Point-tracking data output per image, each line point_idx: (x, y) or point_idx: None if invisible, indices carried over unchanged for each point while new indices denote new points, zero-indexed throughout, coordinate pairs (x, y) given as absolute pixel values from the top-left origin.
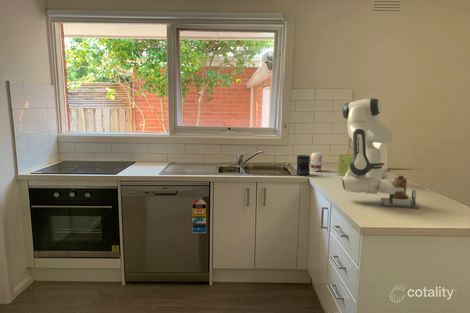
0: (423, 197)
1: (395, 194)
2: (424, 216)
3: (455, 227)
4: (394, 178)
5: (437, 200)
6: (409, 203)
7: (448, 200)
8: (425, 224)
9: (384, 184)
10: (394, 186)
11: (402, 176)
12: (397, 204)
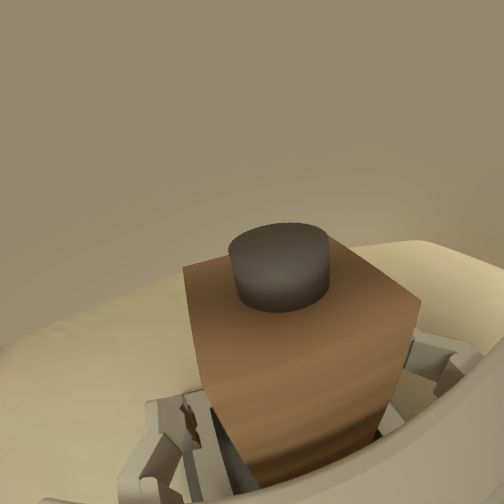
0: (84, 359)
1: (367, 444)
2: (433, 306)
3: (441, 246)
4: (215, 408)
5: (125, 321)
6: None
7: (119, 299)
8: (497, 281)
9: (494, 500)
10: (294, 453)
11: (298, 225)
12: None
